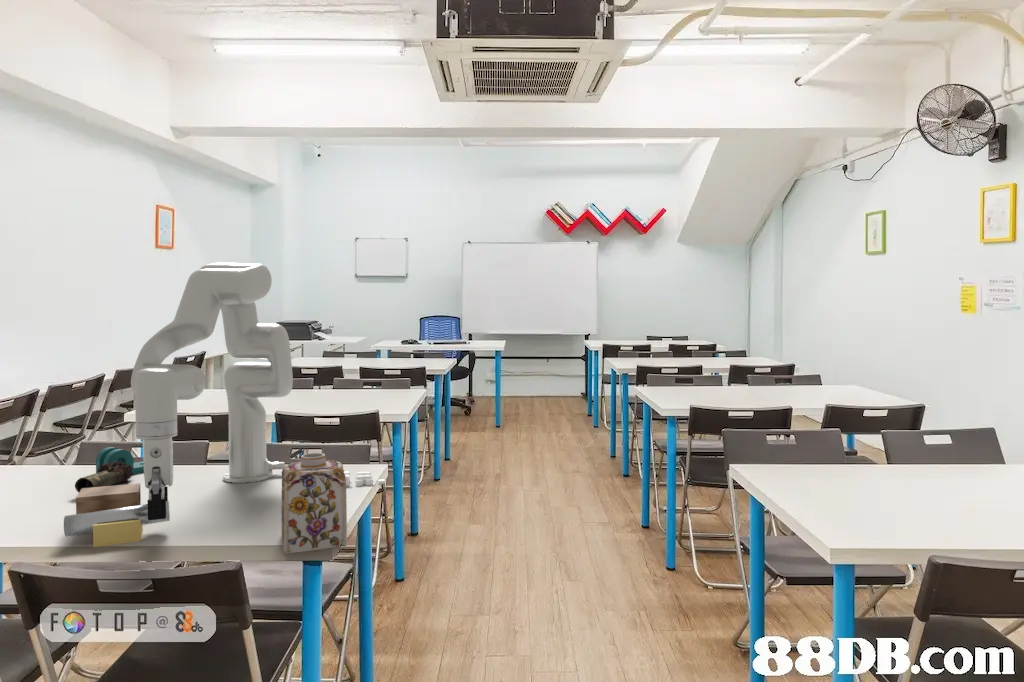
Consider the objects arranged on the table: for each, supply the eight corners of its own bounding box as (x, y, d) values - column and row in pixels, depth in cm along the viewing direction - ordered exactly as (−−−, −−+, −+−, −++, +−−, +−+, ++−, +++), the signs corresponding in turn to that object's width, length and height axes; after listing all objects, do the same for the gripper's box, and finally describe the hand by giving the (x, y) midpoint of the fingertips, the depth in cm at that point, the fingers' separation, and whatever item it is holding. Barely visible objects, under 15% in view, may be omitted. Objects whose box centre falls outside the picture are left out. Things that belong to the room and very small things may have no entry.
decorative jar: (347, 551, 132) (347, 458, 131) (283, 558, 128) (283, 463, 127) (340, 532, 143) (339, 446, 142) (281, 538, 139) (280, 450, 138)
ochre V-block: (142, 532, 142) (142, 511, 142) (140, 543, 136) (140, 520, 135) (98, 537, 139) (97, 515, 138) (93, 548, 132) (93, 525, 132)
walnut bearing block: (140, 519, 151) (140, 483, 151) (138, 529, 144) (137, 492, 143) (82, 525, 146) (81, 488, 146) (76, 536, 139) (75, 497, 139)
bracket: (107, 481, 185) (107, 452, 185) (96, 477, 189) (95, 449, 189) (173, 468, 200) (172, 442, 199) (161, 465, 204) (160, 439, 203)
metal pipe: (93, 496, 167) (94, 473, 167) (67, 495, 167) (67, 472, 167) (137, 480, 185) (137, 459, 185) (113, 479, 185) (113, 458, 185)
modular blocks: (327, 493, 175) (327, 478, 175) (328, 486, 182) (328, 471, 182) (405, 489, 180) (405, 474, 180) (403, 482, 187) (403, 468, 186)
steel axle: (170, 517, 143) (168, 498, 142) (169, 523, 139) (168, 503, 139) (68, 533, 135) (66, 513, 135) (64, 539, 131) (63, 519, 131)
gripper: (176, 435, 133) (177, 522, 134) (178, 421, 149) (179, 499, 149) (132, 437, 130) (133, 527, 130) (138, 423, 145) (140, 503, 146)
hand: (158, 512), depth 140 cm, fingers open, 9 cm apart
